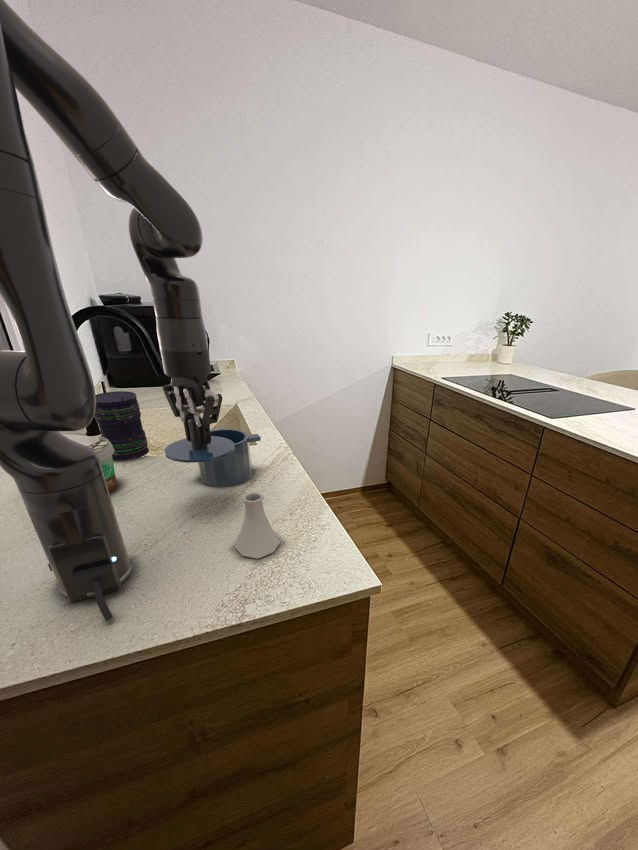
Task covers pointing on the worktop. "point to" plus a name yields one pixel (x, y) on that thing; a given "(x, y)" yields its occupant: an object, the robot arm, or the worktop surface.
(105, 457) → the food container
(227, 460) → the two-handled cooking pot
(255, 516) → the flask
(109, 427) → the storage jar
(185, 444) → the pot lid
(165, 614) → the worktop surface
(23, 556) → the worktop surface
